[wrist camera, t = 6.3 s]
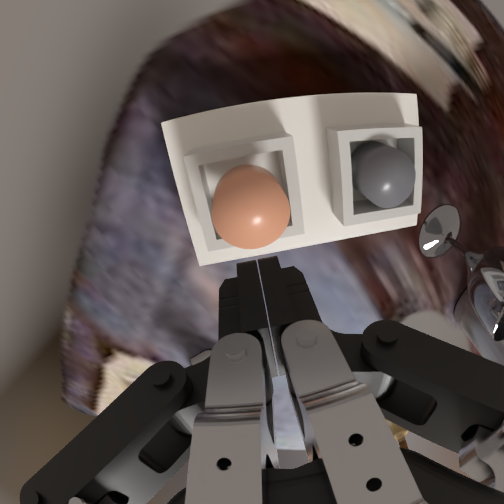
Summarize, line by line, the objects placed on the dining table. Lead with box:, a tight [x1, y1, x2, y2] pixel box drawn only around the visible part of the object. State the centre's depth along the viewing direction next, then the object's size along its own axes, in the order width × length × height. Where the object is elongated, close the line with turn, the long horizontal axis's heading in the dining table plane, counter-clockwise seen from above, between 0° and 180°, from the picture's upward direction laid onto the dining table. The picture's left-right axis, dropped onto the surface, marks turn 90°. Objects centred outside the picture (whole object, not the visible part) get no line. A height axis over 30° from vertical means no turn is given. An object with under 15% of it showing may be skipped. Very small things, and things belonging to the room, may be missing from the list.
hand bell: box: [386, 419, 408, 449], centre depth 46 cm, size 8×8×16 cm
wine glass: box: [419, 205, 504, 343], centre depth 23 cm, size 8×8×15 cm
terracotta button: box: [212, 165, 290, 249], centre depth 17 cm, size 4×4×3 cm
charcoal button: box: [351, 141, 416, 208], centre depth 19 cm, size 4×4×3 cm
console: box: [161, 92, 423, 266], centre depth 22 cm, size 20×12×6 cm, turn 100°
